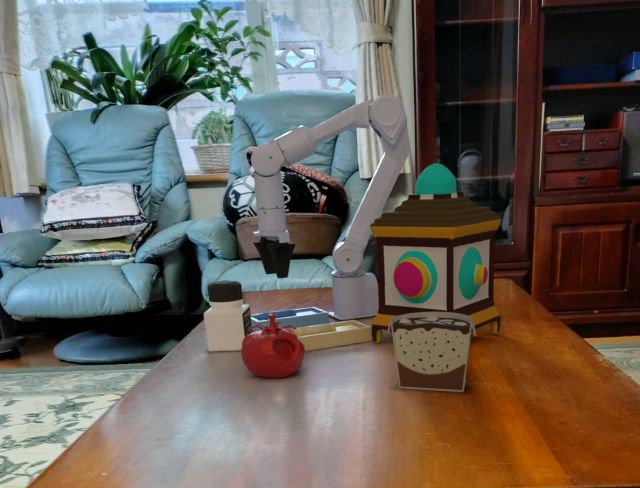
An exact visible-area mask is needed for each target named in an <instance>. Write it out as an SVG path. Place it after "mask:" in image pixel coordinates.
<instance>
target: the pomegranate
mask: <svg viewBox="0 0 640 488" xmlns="http://www.w3.org/2000/svg"><path fill="white" fill-rule="evenodd" d="M268 317H269V319H270V325H269V327H268V326H265V325H262V324H255V326H253V327H252V328H250V329H253V328H255V327H259V328H260V329H262V330H260V331H256V332H253V331H252V333H251V334H249V335H247V336H246V337H245V338H244V339H243V342H242V348H241V351H240V354H241V359H242V362H243V365H244V366H245V367H246V369H247V371H248V372H249V373H251V374H252V375H255V376H257V377H261V378H271V379H274V378H275V379H276V378H277V379H279V378H286V377H289V376H292V375H294V374H295V373H296V372H298V371H299V370H300V369H301V367H302V365H303V361H304V359H305V354H306V351H305V348H304V345H303V344H302V342H300V341H299V340H298V338H297V335H295V334H294V333H293V332H292V331H291V329H288V328H289V327H292V328H293V329H297V328H295V327H293V326H292V325H288V326H286V327H281V328H278V324H279V323H281V321H280V322H278V321H277V322H276V323H275V318H276V316H275V314H270V315H269V316H268ZM259 325H261V326H263V327H264V328H262V327H260V326H259ZM250 329H249V330H250Z"/></svg>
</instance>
